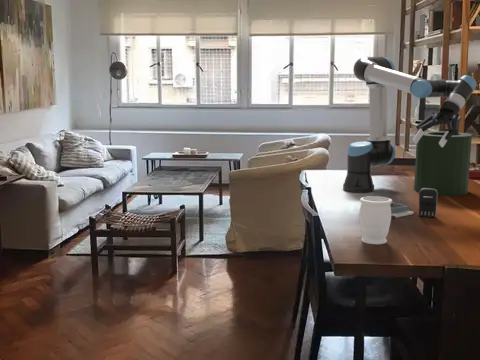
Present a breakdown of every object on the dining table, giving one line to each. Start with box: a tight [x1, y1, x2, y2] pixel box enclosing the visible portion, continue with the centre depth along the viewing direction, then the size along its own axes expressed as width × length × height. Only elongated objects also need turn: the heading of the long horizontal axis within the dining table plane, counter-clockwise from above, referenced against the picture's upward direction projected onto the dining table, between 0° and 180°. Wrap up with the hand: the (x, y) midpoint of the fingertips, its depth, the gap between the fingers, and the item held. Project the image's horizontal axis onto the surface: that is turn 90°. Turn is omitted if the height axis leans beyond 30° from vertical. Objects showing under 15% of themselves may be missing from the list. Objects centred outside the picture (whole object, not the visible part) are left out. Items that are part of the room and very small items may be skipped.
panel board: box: [390, 201, 414, 218], centre depth 243 cm, size 14×12×3 cm
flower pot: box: [413, 130, 473, 197], centre depth 286 cm, size 25×25×28 cm
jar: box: [358, 195, 393, 246], centre depth 200 cm, size 11×10×15 cm
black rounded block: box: [418, 188, 438, 218], centre depth 235 cm, size 7×4×11 cm, turn 69°
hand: (427, 143), depth 245 cm, fingers open, 13 cm apart
